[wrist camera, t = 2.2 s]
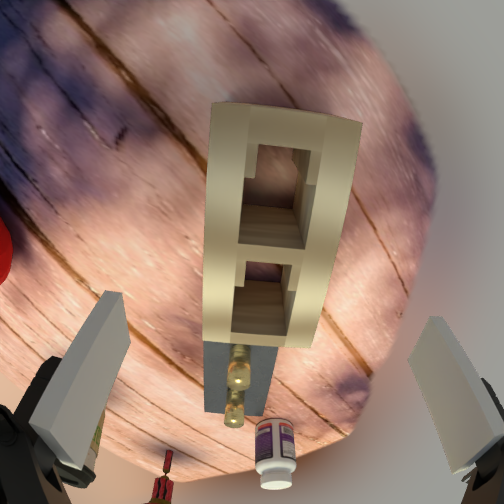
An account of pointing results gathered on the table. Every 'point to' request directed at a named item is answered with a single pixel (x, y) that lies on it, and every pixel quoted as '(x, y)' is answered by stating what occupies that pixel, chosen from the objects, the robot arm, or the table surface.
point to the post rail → (221, 373)
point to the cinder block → (273, 223)
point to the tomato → (5, 251)
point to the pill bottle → (275, 453)
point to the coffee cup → (87, 473)
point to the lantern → (163, 484)
